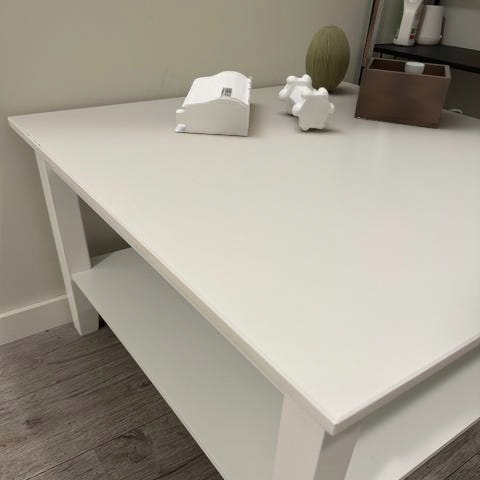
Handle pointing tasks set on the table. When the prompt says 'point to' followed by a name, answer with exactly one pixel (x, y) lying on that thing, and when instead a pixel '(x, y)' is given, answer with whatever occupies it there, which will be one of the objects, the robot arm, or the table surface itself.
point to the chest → (402, 93)
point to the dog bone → (306, 102)
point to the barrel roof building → (217, 105)
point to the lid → (373, 31)
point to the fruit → (328, 58)
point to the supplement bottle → (414, 67)
